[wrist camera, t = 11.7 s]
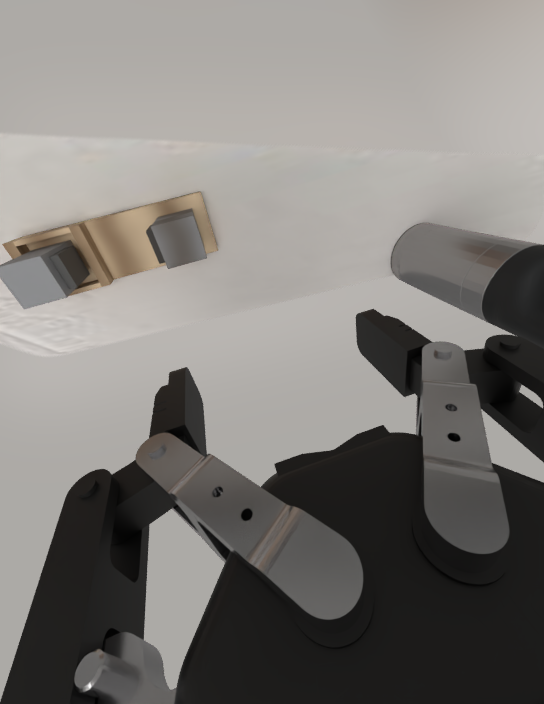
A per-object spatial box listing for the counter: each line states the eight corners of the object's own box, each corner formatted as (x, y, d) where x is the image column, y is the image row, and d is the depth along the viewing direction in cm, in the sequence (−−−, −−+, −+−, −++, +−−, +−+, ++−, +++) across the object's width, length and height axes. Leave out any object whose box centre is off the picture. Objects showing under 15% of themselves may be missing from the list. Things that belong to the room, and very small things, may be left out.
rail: (199, 191, 35) (204, 196, 26) (216, 246, 39) (225, 266, 30) (21, 237, 33) (-39, 258, 24) (56, 290, 37) (15, 325, 28)
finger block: (77, 237, 32) (49, 253, 26) (96, 272, 34) (75, 295, 28) (33, 249, 32) (-7, 268, 25) (56, 283, 34) (24, 309, 27)
